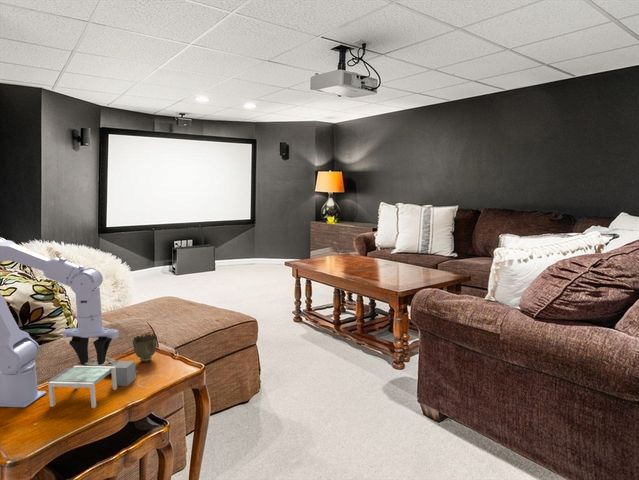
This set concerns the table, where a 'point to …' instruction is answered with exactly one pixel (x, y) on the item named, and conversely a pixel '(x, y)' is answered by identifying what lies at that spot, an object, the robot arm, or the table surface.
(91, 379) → the trapdoor plate
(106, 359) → the stone fragment
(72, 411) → the table surface
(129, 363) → the stone block
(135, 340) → the cup
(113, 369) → the miniature coffee table
